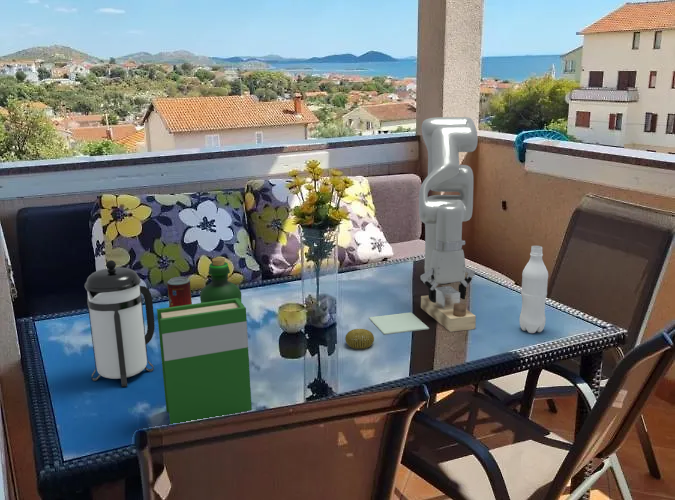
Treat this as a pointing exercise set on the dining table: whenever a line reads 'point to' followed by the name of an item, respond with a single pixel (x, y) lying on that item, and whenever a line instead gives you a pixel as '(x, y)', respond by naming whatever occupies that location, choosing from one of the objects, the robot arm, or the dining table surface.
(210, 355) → the hardback book
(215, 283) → the bottle
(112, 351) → the coffee press
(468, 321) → the hand plane
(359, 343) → the sculpture
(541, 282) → the water bottle
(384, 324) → the mat
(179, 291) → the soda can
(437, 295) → the grey block
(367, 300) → the dining table surface
